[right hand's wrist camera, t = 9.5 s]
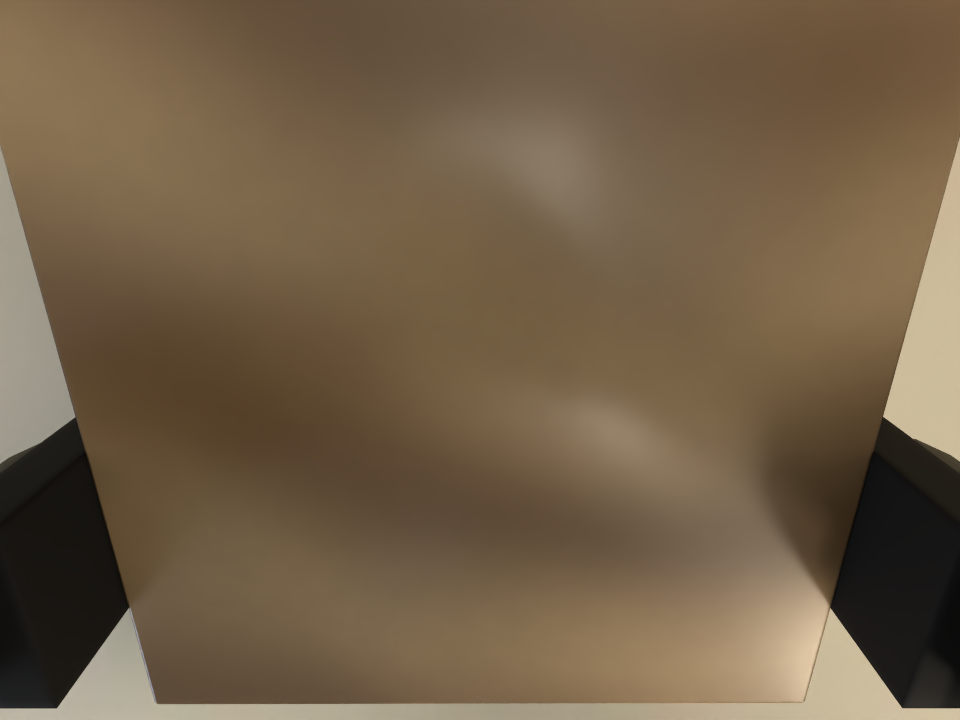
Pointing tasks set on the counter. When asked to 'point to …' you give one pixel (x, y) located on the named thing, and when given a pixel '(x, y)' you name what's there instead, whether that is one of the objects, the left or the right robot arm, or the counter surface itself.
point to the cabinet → (479, 327)
